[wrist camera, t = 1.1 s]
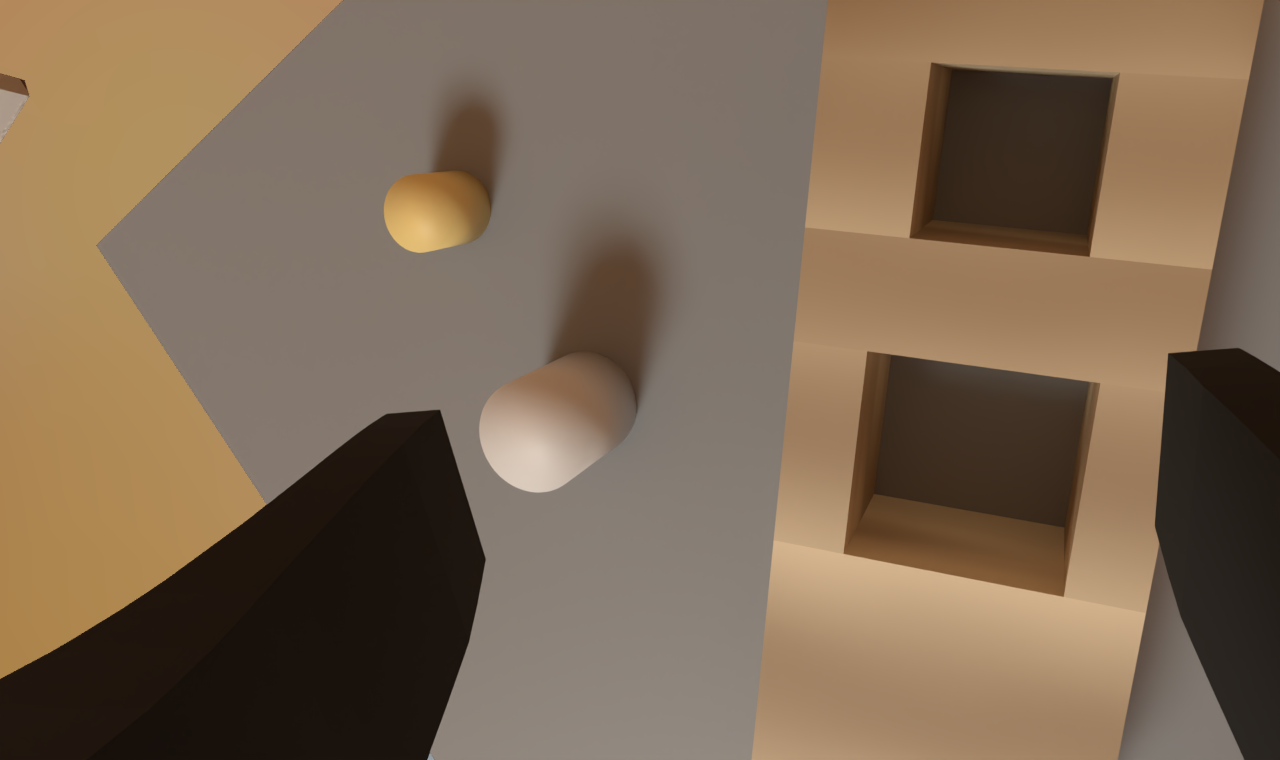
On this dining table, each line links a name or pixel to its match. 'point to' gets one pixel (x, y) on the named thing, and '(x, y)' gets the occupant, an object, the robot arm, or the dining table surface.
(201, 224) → the board
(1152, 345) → the tan block
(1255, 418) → the robot arm
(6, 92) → the tan half-round piece
